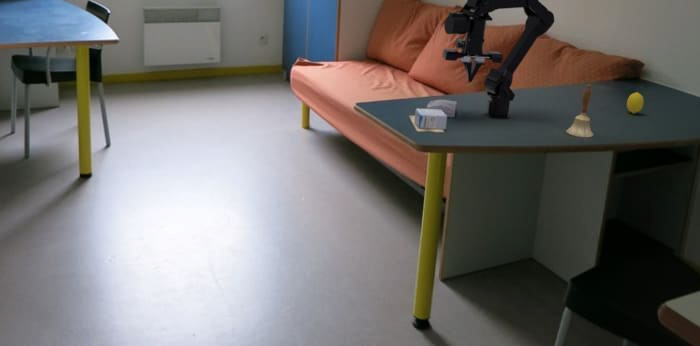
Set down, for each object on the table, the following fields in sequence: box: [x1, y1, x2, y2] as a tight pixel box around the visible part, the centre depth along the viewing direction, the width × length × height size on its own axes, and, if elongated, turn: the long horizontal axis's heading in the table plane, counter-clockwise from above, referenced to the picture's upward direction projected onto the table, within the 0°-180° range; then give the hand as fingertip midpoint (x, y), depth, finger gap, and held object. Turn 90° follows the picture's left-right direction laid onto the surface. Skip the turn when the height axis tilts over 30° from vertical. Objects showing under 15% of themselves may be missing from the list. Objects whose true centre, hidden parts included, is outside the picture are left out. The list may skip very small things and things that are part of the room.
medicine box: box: [414, 108, 448, 130], centre depth 228 cm, size 8×4×9 cm
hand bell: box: [565, 84, 594, 139], centre depth 230 cm, size 8×8×16 cm
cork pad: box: [408, 115, 445, 134], centre depth 231 cm, size 8×17×1 cm, turn 4°
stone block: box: [426, 98, 458, 118], centre depth 247 cm, size 12×5×10 cm
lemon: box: [626, 91, 645, 115], centre depth 261 cm, size 6×6×8 cm
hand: (469, 82), depth 238 cm, fingers closed
